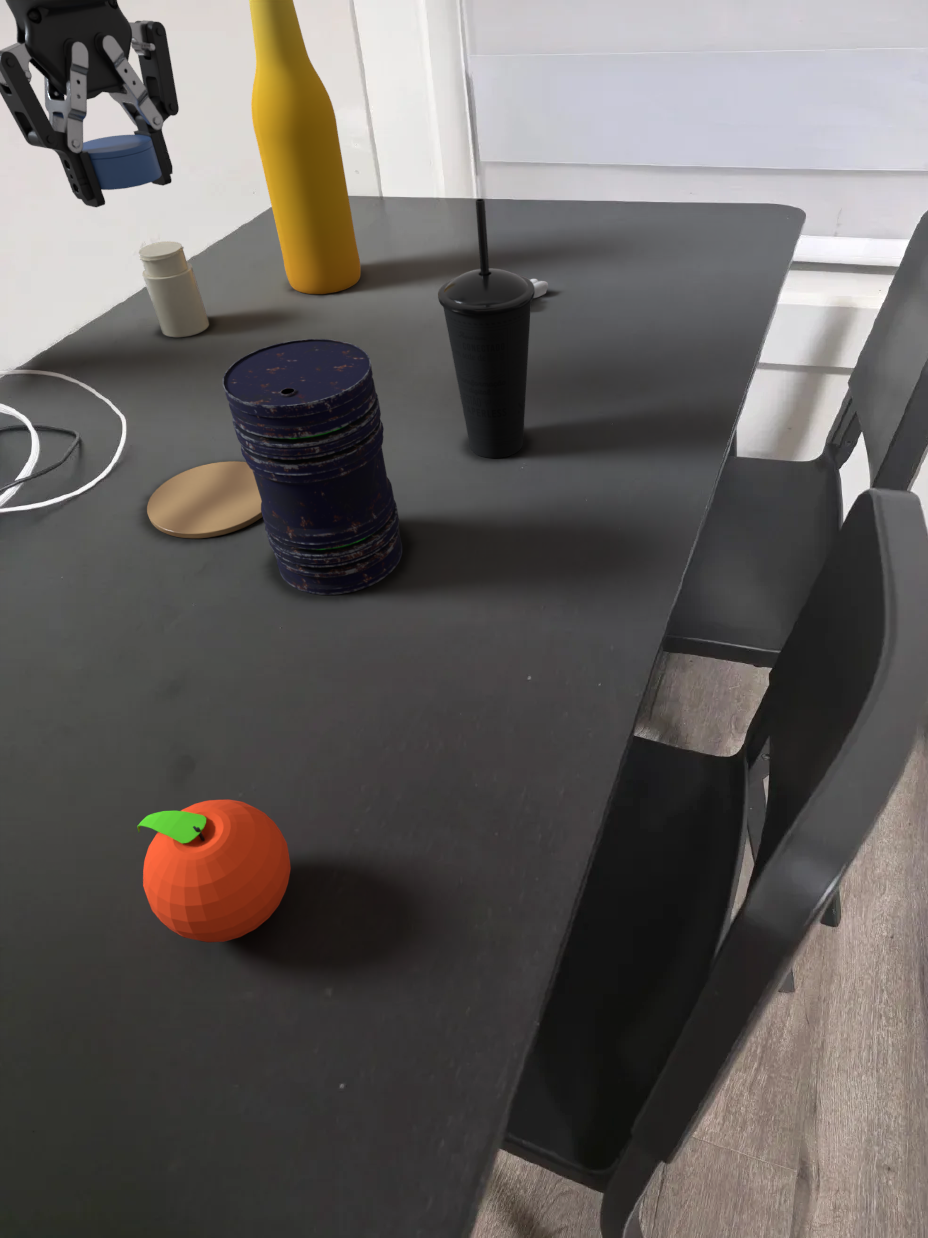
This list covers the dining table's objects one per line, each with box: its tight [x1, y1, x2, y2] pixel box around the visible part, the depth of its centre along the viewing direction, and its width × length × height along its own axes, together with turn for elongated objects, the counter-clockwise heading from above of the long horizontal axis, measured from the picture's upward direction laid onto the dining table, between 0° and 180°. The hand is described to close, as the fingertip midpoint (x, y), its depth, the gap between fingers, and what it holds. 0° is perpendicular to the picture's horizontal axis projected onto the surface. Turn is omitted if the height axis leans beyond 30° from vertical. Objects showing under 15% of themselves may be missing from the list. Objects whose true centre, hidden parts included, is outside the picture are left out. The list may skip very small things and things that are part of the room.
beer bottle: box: [248, 0, 362, 295], centre depth 96 cm, size 9×9×29 cm
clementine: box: [136, 799, 291, 943], centre depth 42 cm, size 8×7×7 cm
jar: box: [138, 240, 210, 338], centre depth 95 cm, size 5×5×9 cm
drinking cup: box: [437, 198, 535, 459], centre depth 69 cm, size 8×8×20 cm
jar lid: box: [82, 134, 162, 191], centre depth 67 cm, size 6×6×2 cm
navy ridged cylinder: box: [221, 338, 403, 596], centre depth 60 cm, size 10×10×15 cm
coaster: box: [146, 460, 263, 539], centre depth 72 cm, size 11×11×1 cm
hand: (129, 192), depth 68 cm, fingers closed on jar lid, 5 cm apart
